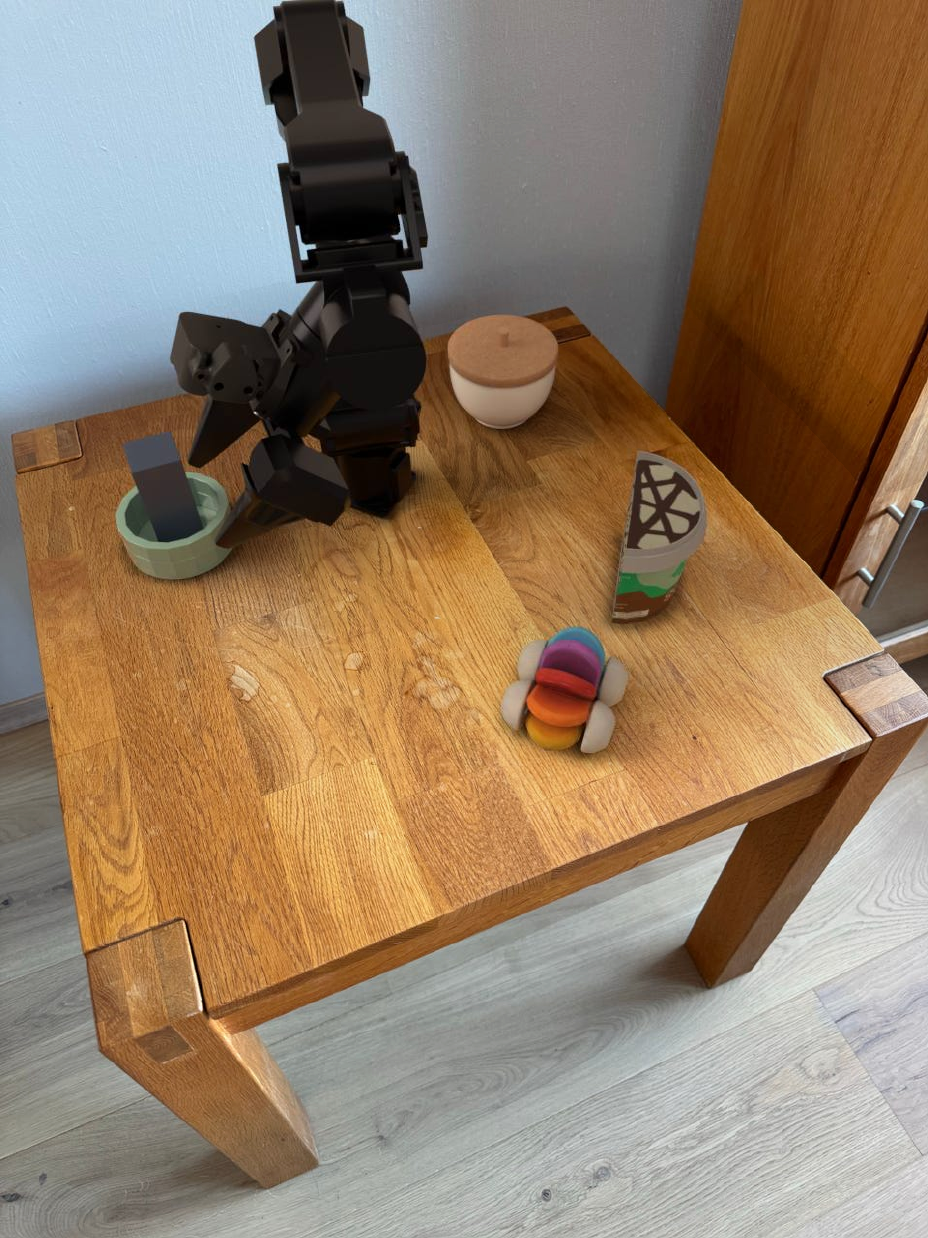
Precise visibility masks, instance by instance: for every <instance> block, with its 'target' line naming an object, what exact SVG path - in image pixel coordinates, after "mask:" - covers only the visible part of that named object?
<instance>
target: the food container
mask: <svg viewBox="0 0 928 1238" xmlns="http://www.w3.org/2000/svg"><path fill="white" fill-rule="evenodd" d="M707 524H708V523H707V505H706V501H705V497H704V495H703V492H702V490H701V488H700V485H699V484H698V482H697V481H696V480H695V478H694V477H693V476H692V475H691V474H690V473H689V472H688V471H687V470H686V469H685V468H684V467H682V466H680V465H679V464H678V463H676V462H674V461H672V460H670V459H669V458H667V457H664V456H662V455H659V454H656V453H651V452H648V451H643V450H637V454H636V459H635V464H634V472H633V477H632V483H631V489H630V495H629V500H628V505H627V511H626V517H625V523H624V529H623V534H622V540H621V546H620V553H619V562H618V567H617V568H618V569H617V576H616V583H615V584H616V585H615V591H614V592H615V593H614V599H613V607H612V614H611V621H610V623H611V624H621V625H622V624H623V625H625V624H632V623H633V624H635V623H641V622H642V623H643V622H645V621H648V620H649V619H652V618H654V617H656V616H658V615H660V614H661V613H662V612H663V611H664V610H666V608H667V607H669V605H670V603H671V601H672V599H673V597H674V595H675V592H676V590H677V588H678V585H679V582H680V579H681V576H682V574H683V571H684V569H685V566H686V563H687V561H688V559H689V558H690V557H692V555H694V553H696V551H698V549H699V548H700V547H701V545H702V544H703V542H704V540H705V539H704V538H705V537H706V532H707V528H708V527H707V526H708V525H707Z"/></svg>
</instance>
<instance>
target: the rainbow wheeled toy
mask: <svg viewBox="0 0 928 1238" xmlns="http://www.w3.org/2000/svg"><path fill="white" fill-rule="evenodd" d="M606 659H607V658H606V652H605V649H604V646H603V643H602V641H601V640H600V639H599V637H598V636H597V635H596V634H595V633H593V631H591V630H590V629H588V628H585V627H583V626H575V625H574V626H569V627H565V628H563V629H561V630H559V631H557V632H556V633H555V634H554V635H553V636H552V637H550V639H546V638H539V639H535V640H532V641H530V642H528V643H527V644H525V645H524V647H523V648H522V650H521V651H520V654H519V657H518V661H517V665H516V672H517V674H518V677H519V678H520V679H519V680H516V681H514V682H512V683H511V684H510V685H509V686H507V688H506V690H505V692H504V695H503V698H502V699H501V705H500V713H501V716H502V718H503V720H504V721H505V723H506V724H507V726H508V727H510V728H511V729H513V730H514V731H516V732H517V731H520V730H521V729H522V727H523V726H524V725H525V727H526V730H527V733H528V736H529V737H530V739H531V740H532V741H533V742H534V744H536V745H537V746H538V747H540V748H542V749H543V750H547V751H561V750H566V749H569V748H570V747H572V746H573V745H575V744H576V743H578V742H579V741H580V738H581V735H582V733H583V730H584V728H585V730H584V733H583V736H582V741H581V745H580V751H581V752H582V753H584V754H593V753H598V752H600V751H603V750H604V749H605V748H607V747H608V746H609V743H610V742H611V738H612V736H613V732H614V729H615V725H616V721H617V720H616V717H615V715H614V712H613V711H612V709H611V708H610V707H613V706H615V705H617V704H618V703H620V702H621V701H622V700H623V697H624V695H625V691H626V688H627V684H628V681H629V678H630V675H629V673H628V670H627V668H626V666H625V665H624V664H623V663H622V662H621V661H620V660H619V659H618V658H616V657H615V656H611V655H610V656H609V658H608V660H607V662H606ZM595 698H596V700H595Z"/></svg>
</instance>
